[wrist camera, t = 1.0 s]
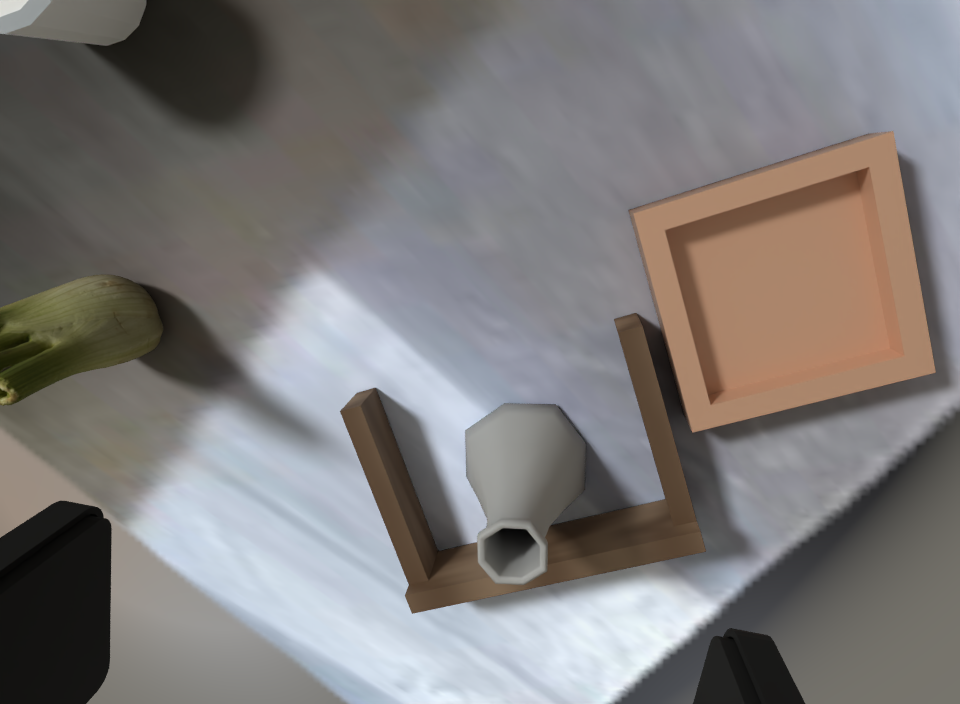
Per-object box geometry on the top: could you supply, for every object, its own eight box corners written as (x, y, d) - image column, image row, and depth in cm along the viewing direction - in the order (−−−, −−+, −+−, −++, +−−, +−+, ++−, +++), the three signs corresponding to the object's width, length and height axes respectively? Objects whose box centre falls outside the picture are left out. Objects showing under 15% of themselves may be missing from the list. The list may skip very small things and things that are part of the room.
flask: (446, 418, 38) (406, 502, 29) (566, 383, 37) (566, 459, 27) (487, 526, 40) (462, 640, 30) (604, 497, 38) (617, 606, 29)
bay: (636, 312, 35) (644, 330, 31) (691, 512, 38) (706, 551, 34) (356, 393, 39) (333, 418, 35) (426, 572, 41) (412, 613, 37)
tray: (868, 133, 32) (893, 131, 29) (909, 358, 34) (935, 372, 32) (628, 210, 34) (633, 213, 32) (684, 415, 36) (692, 432, 34)
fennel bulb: (70, 297, 39) (-134, 351, 28) (123, 245, 38) (-69, 280, 26) (138, 372, 40) (-33, 455, 28) (192, 324, 39) (35, 391, 27)
